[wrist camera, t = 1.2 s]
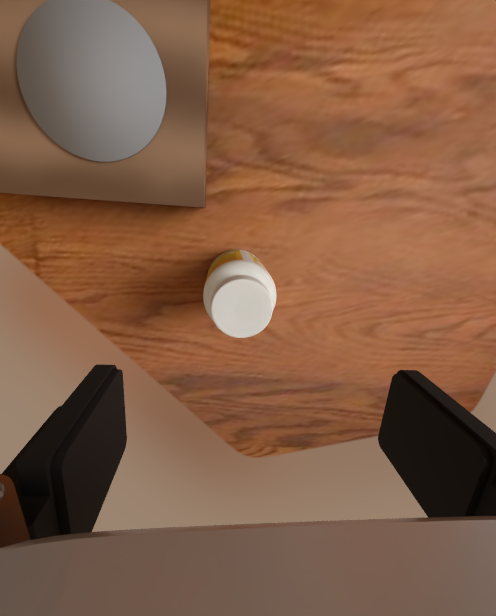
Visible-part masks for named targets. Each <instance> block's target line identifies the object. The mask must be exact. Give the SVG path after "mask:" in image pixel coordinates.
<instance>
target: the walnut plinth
mask: <svg viewBox="0 0 496 616" xmlns="http://www.w3.org/2000/svg"><path fill="white" fill-rule="evenodd" d="M209 36H210V0H0V193H10V194H24V195H37V196H51V197H65V198H78V199H92V200H106V201H120V202H133V203H147V204H161V205H175V206H188V207H202V208H205V202H206V161H207V119H208V77H209Z"/></svg>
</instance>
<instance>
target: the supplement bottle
mask: <svg viewBox="0 0 496 616" xmlns="http://www.w3.org/2000/svg"><path fill="white" fill-rule="evenodd" d="M203 301H204V306H205V309H206V311H207V313H208V315H209V316H210V318H211V319H212V320H213V321H214V323H215V324H216V326H217V327H218V328H219V329H220V330H221V331H222V332H223V333H225V334H227V335H229V336H232V337H236V338H246V337H250V336H253V335H256V334H258V333H259V332H261V331H262V330H263V329H264V328H265V327H266V326H267V324H268V323H269V321H270V319H271V316H272V311H273V309H274V307H275V303H276V288H275V284H274V282H273V279H272V278H271V276H270V274H269V273H268V272H267V270H266V269H265V267H264V266H263V264H262V263H261V262H260V260H259V259H258V258H257V257H256V256H255V255H253V254H252V253H250V252H248V251H245V250H230V251H227V252H224V253H222V254H221V255H219V256H218V257H217V258H216V259H215V260H214V261H213V262H212V264H211V266H210V268H209V270H208V274H207V278H206V282H205V286H204V291H203Z"/></svg>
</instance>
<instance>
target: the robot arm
mask: <svg viewBox="0 0 496 616" xmlns="http://www.w3.org/2000/svg"><path fill="white" fill-rule="evenodd" d="M124 405H125V404H124V388H123V373H122V370H118V369H117V368H116V366H115V365H95V366H94V367H93V369H92V370H91V371H90V372H89V374H88V375H87V376H86V377H85V378H84V380H83V381H82V382H81V383H80V384H79V386H78V387H77V388H76V389H75V391H74V392H73V393H72V394H71V395H70V397H69V398H68V399H67V400H66V401H65V403H64V404H63V405H62V406H60V407H58V408H57V409H56V410H55V411H54V412H53V413H52V414H51V416H50V417H49V418H48V419H47V421H46V422H45V423H44V424H43V425H42V427H41V428H40V429H39V430H38V431H37V432H36V434H35V435H34V436H33V437H32V438H31V440H30V441H29V442H28V443H27V444H26V446H25V447H24V448H23V449H22V450H21V451H20V453H19V454H18V455H17V456H16V457H15V459H14V460H13V461H12V462H11V463H10V465H9V466H8V467H7V468H6V469H5V470H4V472H3V473H2V474H0V616H496V433H495V432H494V431H492V430H491V429H490V428H489V427H487V426H486V425H485V424H483V423H482V422H481V421H480V420H478V419H477V418H476V417H475V416H474V415H472V414H471V413H470V412H469V411H467V410H466V409H465V408H464V407H462V406H461V405H460V404H459V403H457V402H456V401H455V400H454V399H452V398H451V397H450V396H449V395H447V394H446V393H445V392H444V391H442V390H441V389H440V388H439V387H437V386H436V385H435V384H434V383H432V382H431V381H430V380H429V379H427V378H426V377H425V376H424V375H422V374H421V373H420V372H418V371H416V370H400V371H398V372H397V374H395V375H394V376H393V377H392V381H391V385H390V389H389V393H388V398H387V402H386V406H385V410H384V414H383V419H382V423H381V427H380V431H379V435H378V441H379V445H380V447H381V449H382V450H383V452H384V453H385V455H386V456H387V458H388V459H389V460H390V462H391V463H392V465H393V466H394V468H395V469H396V471H397V472H398V474H399V475H400V476H401V478H402V479H403V481H404V482H405V484H406V485H407V487H408V488H409V490H410V491H411V493H412V494H413V495H414V497H415V499H416V500H417V501H418V503H419V504H420V506H421V507H422V509H423V510H424V512H425V513H426V514H427V516H428V518H399V519H369V520H343V521H342V520H341V521H314V522H287V523H263V524H262V523H261V524H240V525H239V524H237V525H214V526H191V527H168V528H150V529H134V530H133V529H132V530H115V531H101V532H92V529H93V527H94V524H95V522H96V520H97V517H98V515H99V512H100V510H101V507H102V504H103V502H104V500H105V497H106V495H107V492H108V490H109V487H110V485H111V482H112V480H113V478H114V475H115V472H116V470H117V468H118V465H119V463H120V460H121V458H122V455H123V453H124V450H125V446H126V440H127V436H126V421H125V406H124Z"/></svg>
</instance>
